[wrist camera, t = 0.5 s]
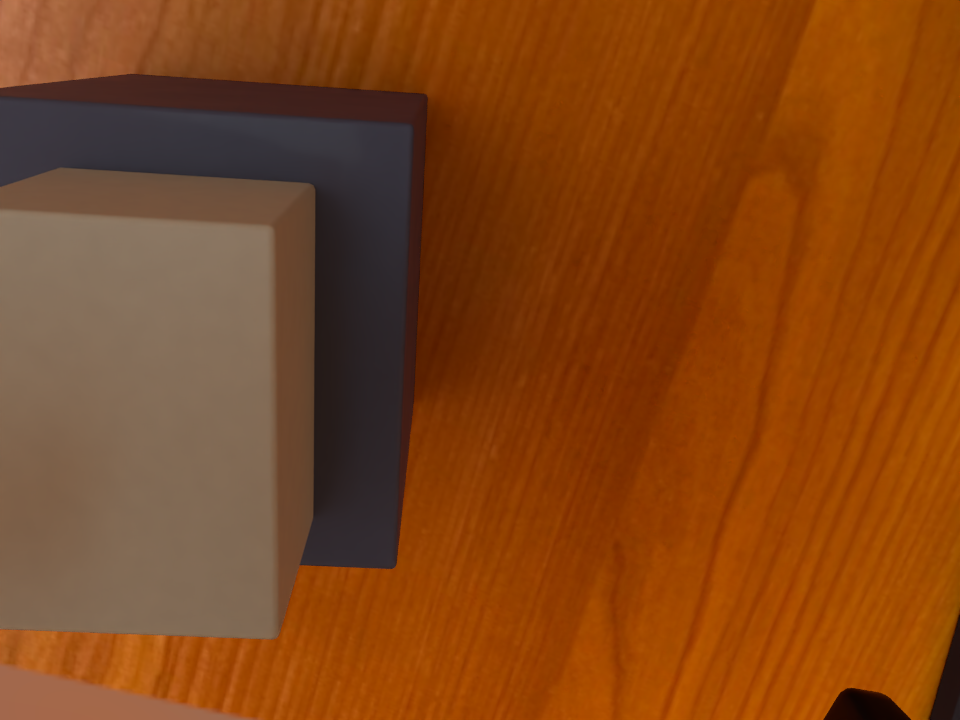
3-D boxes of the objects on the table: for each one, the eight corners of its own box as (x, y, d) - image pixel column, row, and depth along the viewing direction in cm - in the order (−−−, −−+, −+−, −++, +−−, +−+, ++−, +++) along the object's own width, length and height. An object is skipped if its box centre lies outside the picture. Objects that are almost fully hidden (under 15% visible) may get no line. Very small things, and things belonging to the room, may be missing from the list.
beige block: (314, 519, 16) (278, 642, 13) (86, 509, 16) (-9, 631, 13) (315, 182, 14) (274, 226, 11) (56, 166, 14) (-67, 205, 11)
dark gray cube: (413, 404, 24) (396, 571, 17) (147, 391, 24) (5, 554, 16) (428, 93, 21) (414, 123, 14) (128, 73, 21) (-51, 92, 14)
